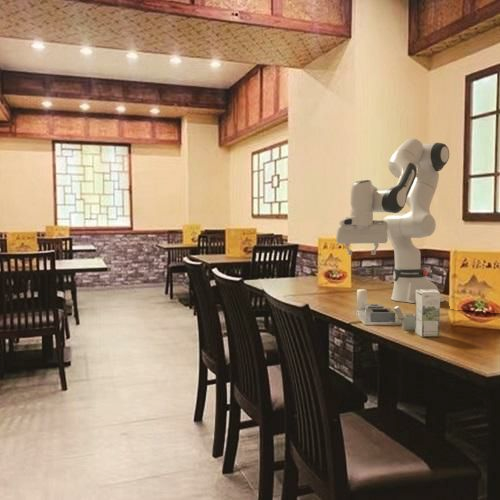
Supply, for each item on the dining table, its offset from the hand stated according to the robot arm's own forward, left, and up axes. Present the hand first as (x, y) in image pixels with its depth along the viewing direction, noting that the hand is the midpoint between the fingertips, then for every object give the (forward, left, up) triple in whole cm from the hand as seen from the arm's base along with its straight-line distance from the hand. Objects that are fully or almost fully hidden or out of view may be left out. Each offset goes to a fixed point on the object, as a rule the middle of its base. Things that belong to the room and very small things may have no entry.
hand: (361, 254), depth 199 cm
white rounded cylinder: (0, 0, -22) cm, 22 cm away
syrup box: (-13, +44, -23) cm, 51 cm away
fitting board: (-3, +18, -22) cm, 29 cm away
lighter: (-8, +36, -23) cm, 43 cm away
